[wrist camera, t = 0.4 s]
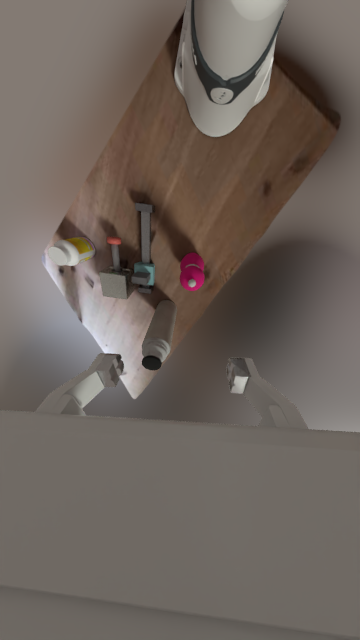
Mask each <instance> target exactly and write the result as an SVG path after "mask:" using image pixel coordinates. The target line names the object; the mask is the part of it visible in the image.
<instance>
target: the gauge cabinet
mask: <svg viewBox="0 0 360 640" xmlns="http://www.w3.org/2000/svg"><path fill="white" fill-rule="evenodd" d="M120 269H121V272H114V266H109V267H107V268H106V269H104V270H102V271H101V272H99V275H100V280H101V286H102V291H103V296H107V297H114V298H121V299H128V297H129V296H130V295H131V294H132V292H133V291H134V283H132V276H133V269H128V268H121V267H120Z"/></svg>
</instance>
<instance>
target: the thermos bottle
mask: <svg viewBox="0 0 360 640" xmlns="http://www.w3.org/2000/svg"><path fill="white" fill-rule="evenodd" d="M176 312H177V307H176V305H175V304H174V303H173V302H172V301H169V300H163V301H161V302H160V303H159V304H158V306H157V308H156V311H155V313H154V316H153V318H152V321H151V323H150V326H149V328H148V331H147V333H146V336H145V338H144V341H143V344H142V354H143V356H144V358H143V360H142V365H143V366H144V367H145V368H146V369H149V370H157V369H159V368H160V367H161V364H162V361H164V360H165V359H166V357H167V355H168V354H169V352H170V348H171V342H172V336H173V330H174V324H175V318H176Z"/></svg>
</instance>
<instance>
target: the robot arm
mask: <svg viewBox="0 0 360 640" xmlns="http://www.w3.org/2000/svg"><path fill="white" fill-rule="evenodd" d="M287 2H288V0H187V2H186V8H185V12H184V18H183V25H182V31H181V37H180V43H179V48H178V54H177V60H176V66H175V72H174V80H175V84H176V86H177V88H178V89H179V91H180V92H181V94H182V95H183V96H184V98H185V100H186V103H187V107H188V110H189V113H190V116H191V118H192V120H193V122H194V124H195V125H196V126H197V128H198V129H199V130H200V131H202V132H203V133H204V134H206V135H208V136H212V137H219V136H223V135H226V134H228V133H229V132H231V131H232V130H234V129H235V128H236V127H237V126H238V125H239V124H240V123H241V121H242V120H243V119H244V117H245V116H246V114H247V113H248V111H249V110H250V109H251V108H252V107H253V106H255V105H256V104H257V103H259V102H260V101H261V100H262V99H263V98H264V97H265V95H266V93H267V91H268V88H269V82H270V75H271V69H272V63H273V59H274V58H273V55H274V48H275V42H276V35H277V33H278V29H279V26H280V23H281V20H282V17H283V13H284V9H285V6H286V4H287ZM181 64H182V68H181V67H180V65H181ZM121 358H122V357H121V355H120V354H105V353H100V354H99V355H98V356H97V357H96V359H95V360H94V362H93V363H92V365H91V366H90V367H89V369H88V370H87V371H84V372H82V373H81V374H79V375H78V376H76V377H74V378H73V379H71V380H70V381H68V382H67V383H65V384H64V385H62V386H61V387H59V388H57V389H56V390H54V391H53V392H51V393H50V394H49V395H48V396H47V398H46V399H45V400H44V401H43V403H42V404H41V405H40V406H39V408H38V409H37V410H36V411H35V412H23V411H6V410H0V640H360V433H359V432H345V431H344V432H343V431H328V430H312V429H308V427H307V425H306V423H305V422H304V420H303V418H302V416H301V414H300V412H299V411H298V409H297V407H296V406H295V405H294V404H293V403H291V402H290V401H289V400H288V399H287V398H286V397H284V396H283V395H282V394H281V393H280V392H279V391H277V390H276V389H275V388H274V387H273V386H271V385H270V384H269V383H268V382H267V381H265V380H264V379H263V378H260V377H259V374H258V372H257V370H256V367H255V365H254V363H253V360H252V359H251V358H229V360H228V363H229V364H228V365H227V378H228V379H229V380H230V381H229V387H230V391H231V393H242V394H243V395H244V396H245V397H246V398H247V399H248V401H249V402H250V403H251V404H252V405H253V407H254V408H255V409H256V410H257V411H258V413H259V414H260V415H261V416H262V420H261V421H260V423H259V425H258V426H248V425H231V424H214V423H198V422H183V421H167V420H150V419H135V418H119V417H103V416H102V417H101V416H87V415H86V414H85V412H84V411H83V410H82V408H83V407H84V406H85V405H86V404H87V403H88V402H90V400H92V399H93V398H94V397H95V396H96V395H97V394H98V393H99V392H100V391H101V390H102V389H104V388H105V387H116V385H117V383H118V381H119V376H120V375H121V374H122V372H123V369H124V363H123V361H122V360H121Z"/></svg>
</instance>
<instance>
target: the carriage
mask: <svg viewBox="0 0 360 640" xmlns="http://www.w3.org/2000/svg"><path fill="white" fill-rule="evenodd" d="M154 269H155V265H154V264H152V263H151V264H150V265H148V264H142V262H138V263H135V264H134V272H135V274H134V275H133V276H132V283H135V284H142V285H153V284H154Z"/></svg>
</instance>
